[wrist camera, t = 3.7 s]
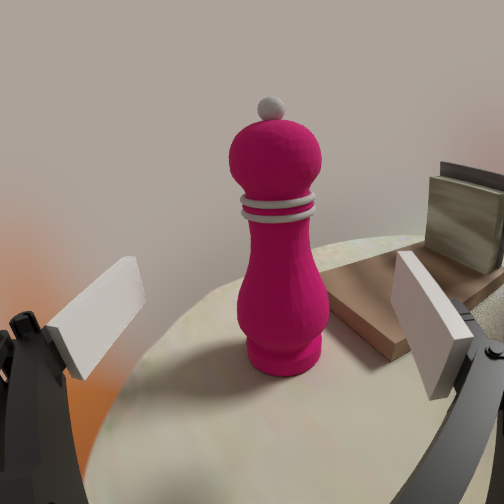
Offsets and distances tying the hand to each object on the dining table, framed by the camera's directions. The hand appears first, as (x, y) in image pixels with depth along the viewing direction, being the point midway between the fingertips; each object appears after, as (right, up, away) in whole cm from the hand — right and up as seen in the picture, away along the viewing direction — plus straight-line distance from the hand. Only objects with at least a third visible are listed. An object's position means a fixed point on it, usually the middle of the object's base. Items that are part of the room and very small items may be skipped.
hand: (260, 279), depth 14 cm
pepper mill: (+2, -7, +11) cm, 13 cm away
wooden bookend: (+20, -3, +17) cm, 26 cm away
